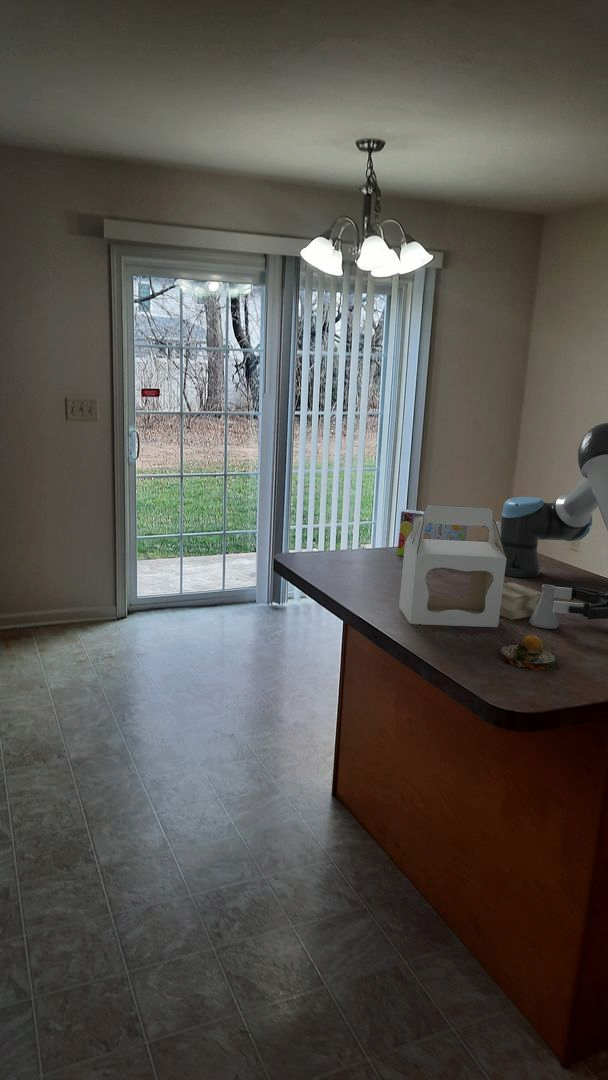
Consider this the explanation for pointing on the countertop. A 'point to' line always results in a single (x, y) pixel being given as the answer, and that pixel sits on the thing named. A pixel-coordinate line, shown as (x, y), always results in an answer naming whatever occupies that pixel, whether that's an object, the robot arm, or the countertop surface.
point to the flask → (545, 610)
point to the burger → (528, 654)
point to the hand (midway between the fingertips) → (548, 598)
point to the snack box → (428, 530)
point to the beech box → (518, 601)
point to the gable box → (459, 556)
